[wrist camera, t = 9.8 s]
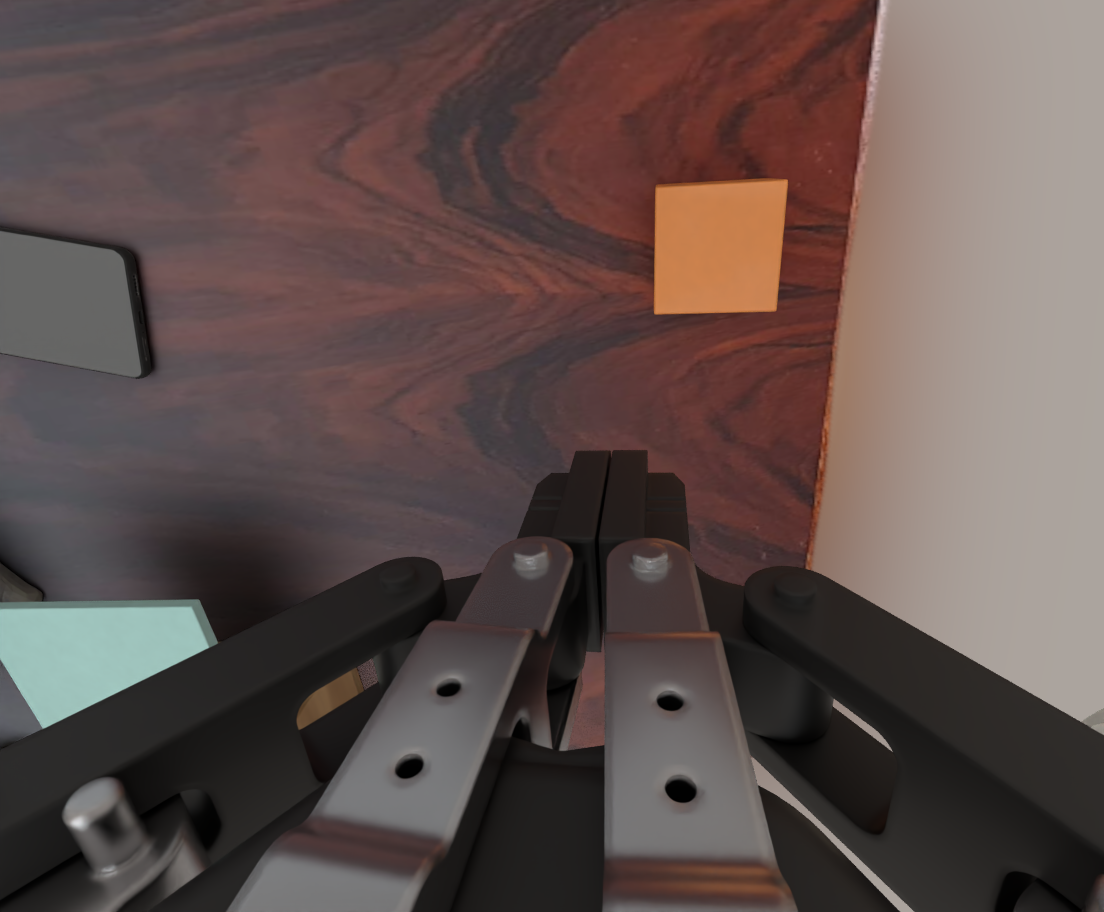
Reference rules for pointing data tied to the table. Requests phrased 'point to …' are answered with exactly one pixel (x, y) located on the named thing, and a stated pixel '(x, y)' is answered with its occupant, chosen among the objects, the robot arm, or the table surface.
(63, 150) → the table surface
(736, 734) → the robot arm
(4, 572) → the figurine
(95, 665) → the mint sliding box lid
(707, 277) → the block
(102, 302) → the smartphone
